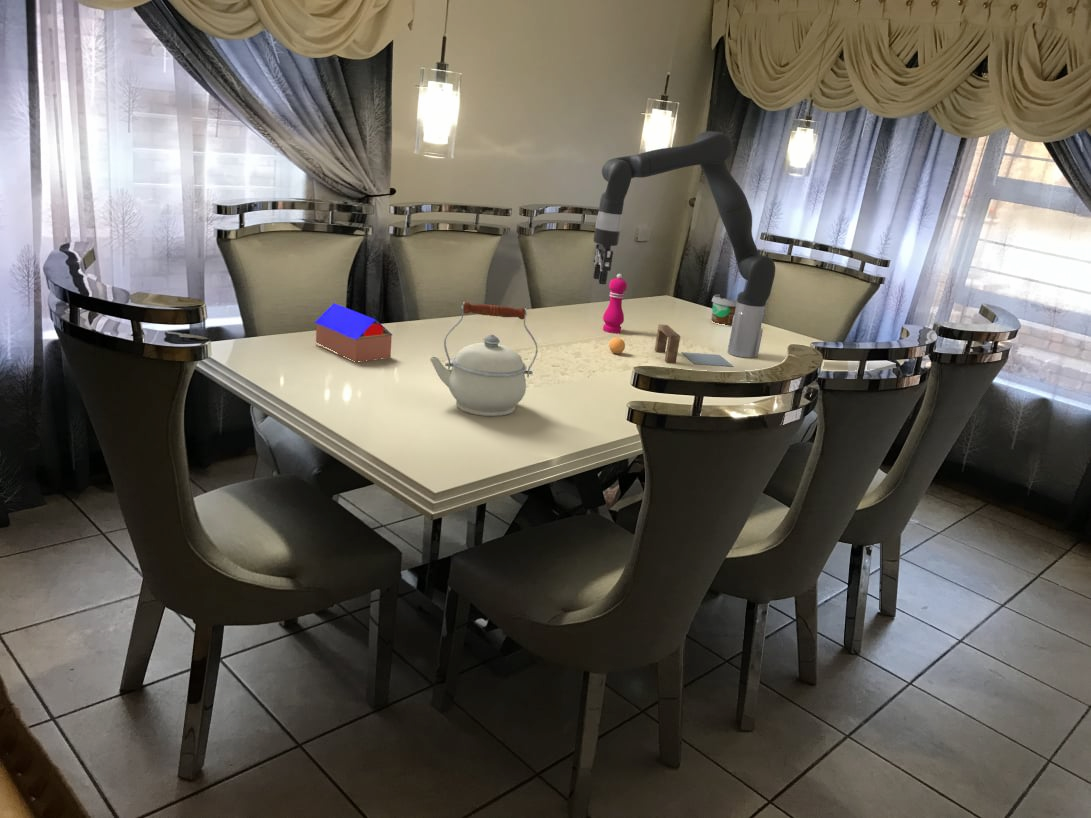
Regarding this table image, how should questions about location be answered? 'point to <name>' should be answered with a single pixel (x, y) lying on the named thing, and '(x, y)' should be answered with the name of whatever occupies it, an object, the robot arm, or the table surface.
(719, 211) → the robot arm
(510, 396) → the kettle
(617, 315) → the pepper mill
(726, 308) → the food container
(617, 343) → the ball
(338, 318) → the house
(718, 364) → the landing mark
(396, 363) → the table surface
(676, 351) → the bridge
